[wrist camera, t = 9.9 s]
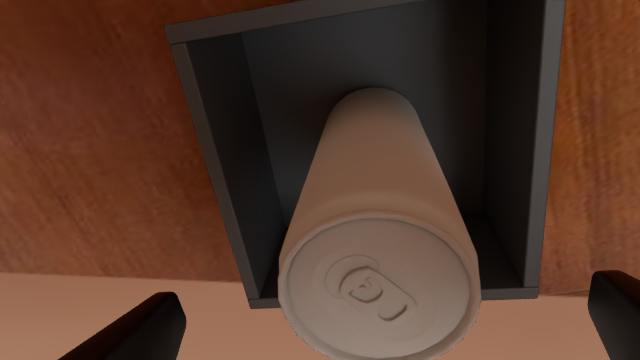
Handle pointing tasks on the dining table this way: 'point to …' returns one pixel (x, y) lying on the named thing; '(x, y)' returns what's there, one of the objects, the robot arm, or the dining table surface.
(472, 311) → the beverage can
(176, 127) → the dining table surface
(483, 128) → the waste bin
